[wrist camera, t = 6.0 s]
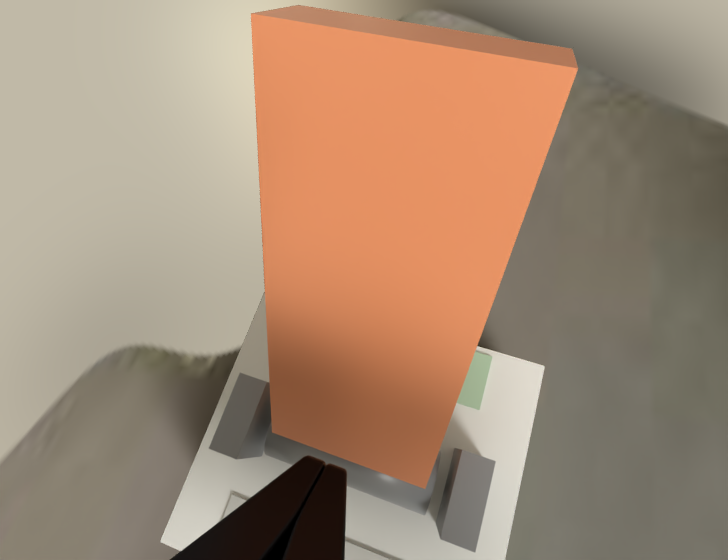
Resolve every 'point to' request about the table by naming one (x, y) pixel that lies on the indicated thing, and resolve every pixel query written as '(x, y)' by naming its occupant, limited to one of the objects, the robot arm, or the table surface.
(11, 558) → the table surface
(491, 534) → the switch base
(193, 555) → the robot arm
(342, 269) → the lever
